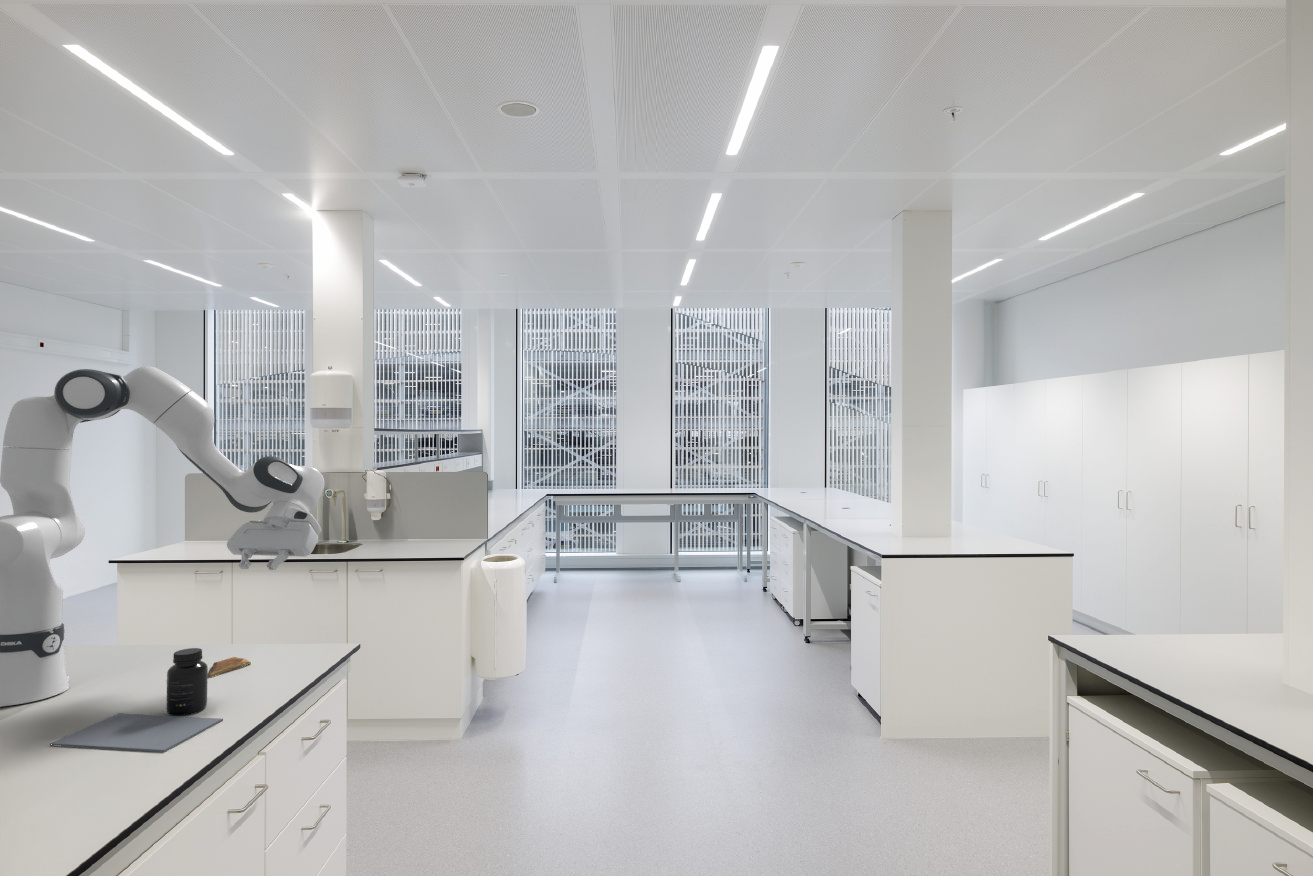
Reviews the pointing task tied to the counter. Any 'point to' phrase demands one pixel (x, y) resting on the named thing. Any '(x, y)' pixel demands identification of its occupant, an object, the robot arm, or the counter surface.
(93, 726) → the mat
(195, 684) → the supplement bottle
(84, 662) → the counter surface
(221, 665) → the shard
